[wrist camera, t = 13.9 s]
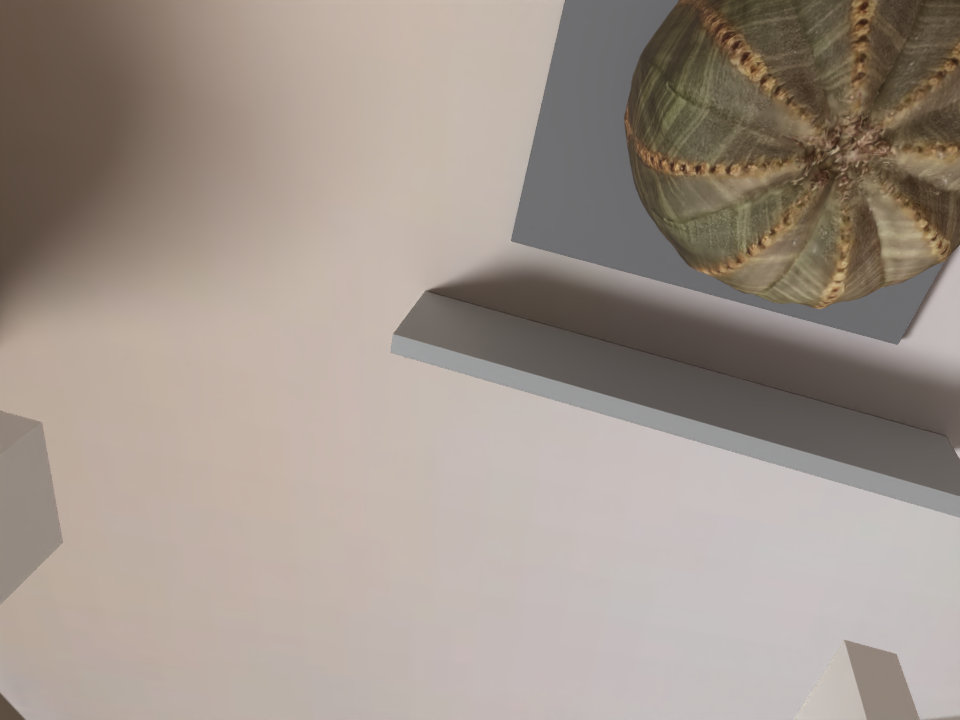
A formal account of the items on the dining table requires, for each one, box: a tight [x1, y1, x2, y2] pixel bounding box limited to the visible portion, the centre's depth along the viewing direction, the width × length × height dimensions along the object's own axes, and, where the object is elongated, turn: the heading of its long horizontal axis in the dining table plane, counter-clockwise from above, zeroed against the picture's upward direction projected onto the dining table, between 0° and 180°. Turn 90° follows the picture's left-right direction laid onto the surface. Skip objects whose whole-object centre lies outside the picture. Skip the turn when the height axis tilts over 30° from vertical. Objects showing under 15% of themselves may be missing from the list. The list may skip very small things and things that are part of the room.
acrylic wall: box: [390, 291, 960, 517], centre depth 34 cm, size 26×1×5 cm, turn 79°
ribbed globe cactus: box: [624, 0, 960, 309], centre depth 24 cm, size 11×11×12 cm
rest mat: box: [511, 0, 944, 345], centre depth 29 cm, size 18×18×1 cm
